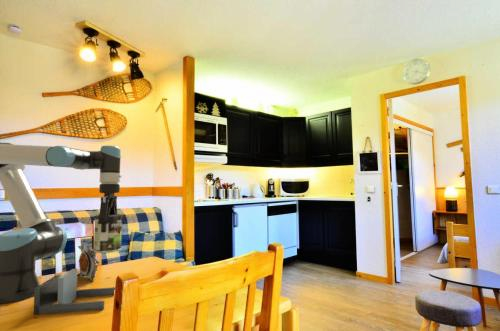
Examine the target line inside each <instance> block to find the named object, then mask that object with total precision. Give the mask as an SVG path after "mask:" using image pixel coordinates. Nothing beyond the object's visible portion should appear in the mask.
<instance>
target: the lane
mask: <svg viewBox="0 0 500 331" xmlns="http://www.w3.org/2000/svg"><path fill="white" fill-rule="evenodd" d="M59 277H61V274H57V275H54V276H53V277H51V278H49V279H47V280H46V281H45V282H43V283H41V284H40V285H39V286H38V287H36V288H35V290H34V296H33V316H43V315H53V314H55V315H56V314H67V313H81V312H91V311H104V309H105V300H95V301H94V300H93V301H81V302H71V303H65V304H58V303H56V302H58V278H59ZM114 290H115V291H116V286H115V287H101V288H100V287H99V288H85V289H84V288H83V289H77V295H76V298H75V299H78V298H79V299H80V298H81V299H82V298H97V297H108V296H109V297H110V296H115V295H114ZM55 303H56V304H55Z"/></svg>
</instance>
